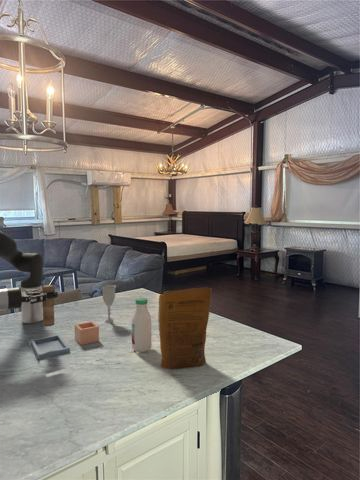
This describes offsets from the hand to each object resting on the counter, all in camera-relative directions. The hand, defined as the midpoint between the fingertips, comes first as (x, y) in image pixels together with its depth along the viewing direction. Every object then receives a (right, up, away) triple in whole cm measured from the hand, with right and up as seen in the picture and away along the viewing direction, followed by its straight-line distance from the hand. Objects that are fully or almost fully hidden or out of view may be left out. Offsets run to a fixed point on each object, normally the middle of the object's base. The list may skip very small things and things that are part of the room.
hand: (55, 293), depth 126 cm
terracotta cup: (+10, -22, +9) cm, 25 cm away
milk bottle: (+33, -23, +3) cm, 40 cm away
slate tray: (-2, -22, +1) cm, 22 cm away
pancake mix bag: (+50, -24, -12) cm, 56 cm away
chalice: (+14, -20, +31) cm, 39 cm away
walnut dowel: (-2, -12, -1) cm, 12 cm away
